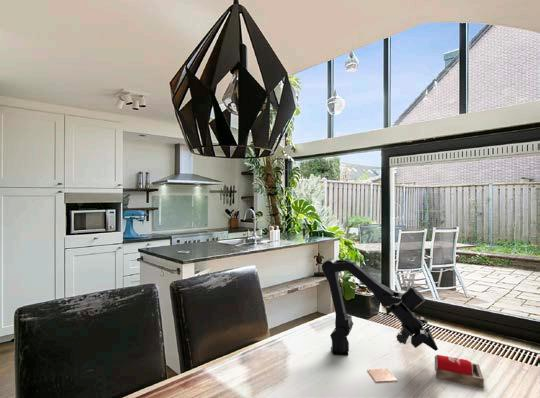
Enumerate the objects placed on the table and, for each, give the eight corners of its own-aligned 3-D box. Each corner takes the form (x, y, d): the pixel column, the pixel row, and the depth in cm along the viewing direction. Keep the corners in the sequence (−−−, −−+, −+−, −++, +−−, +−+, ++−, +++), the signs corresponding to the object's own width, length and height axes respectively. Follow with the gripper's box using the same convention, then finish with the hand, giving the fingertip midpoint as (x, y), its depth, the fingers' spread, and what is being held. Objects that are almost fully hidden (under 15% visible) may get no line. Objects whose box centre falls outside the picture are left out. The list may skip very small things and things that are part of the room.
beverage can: (434, 360, 126) (470, 367, 121) (434, 375, 121) (472, 383, 116) (434, 350, 123) (471, 357, 118) (435, 365, 118) (473, 373, 113)
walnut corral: (436, 378, 118) (436, 369, 118) (435, 364, 128) (435, 356, 128) (483, 387, 112) (483, 379, 112) (478, 372, 122) (478, 364, 122)
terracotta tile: (375, 384, 116) (375, 381, 116) (367, 372, 124) (367, 369, 124) (397, 383, 116) (397, 380, 116) (387, 371, 124) (387, 368, 124)
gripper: (391, 320, 139) (420, 351, 134) (387, 337, 122) (420, 373, 117) (411, 304, 135) (442, 335, 131) (410, 319, 118) (444, 356, 114)
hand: (436, 349), depth 123 cm, fingers closed
